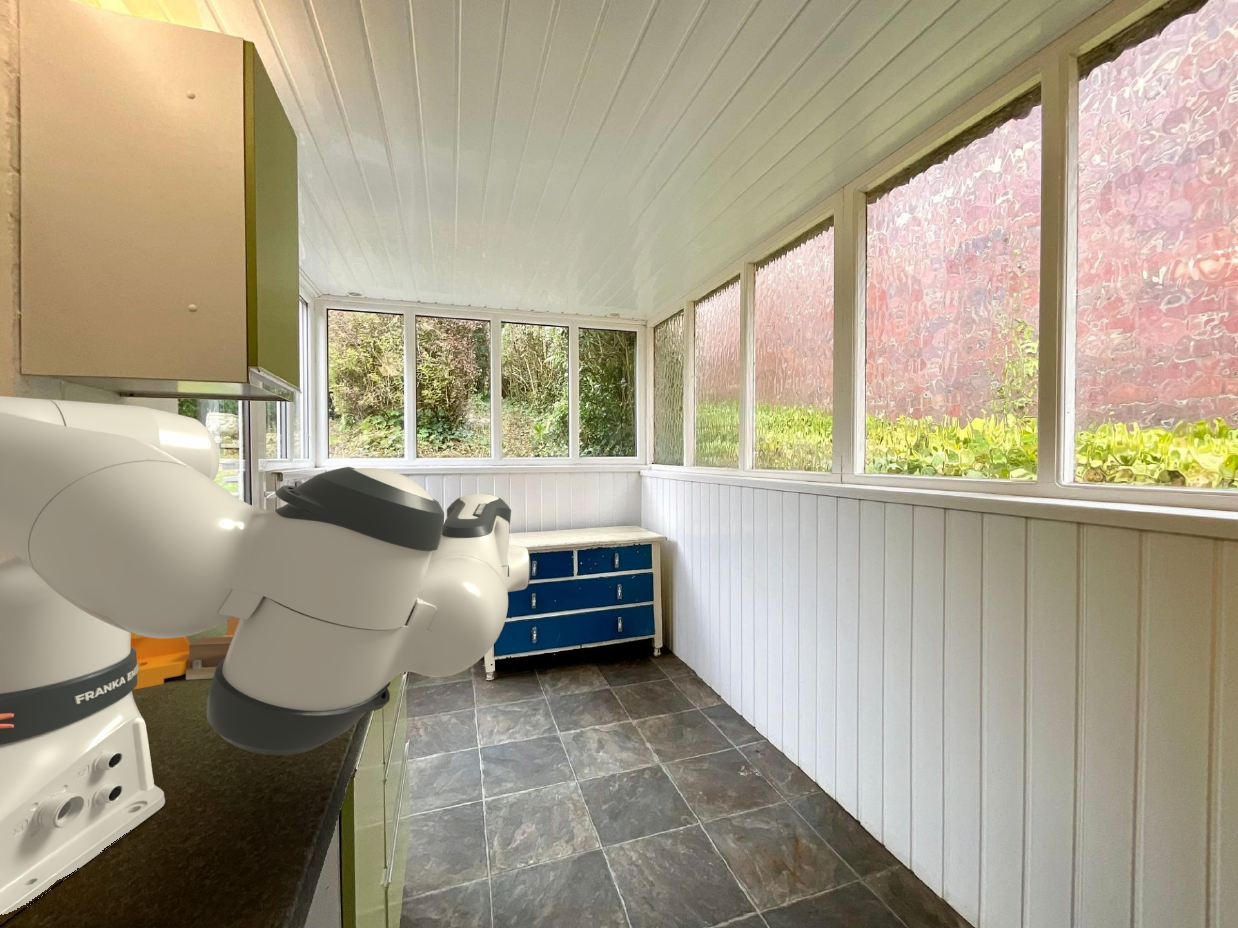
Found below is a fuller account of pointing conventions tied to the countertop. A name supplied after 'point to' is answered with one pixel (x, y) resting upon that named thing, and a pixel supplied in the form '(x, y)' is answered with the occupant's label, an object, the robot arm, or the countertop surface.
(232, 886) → the countertop surface
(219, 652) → the rail board
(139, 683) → the bracket
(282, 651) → the robot arm
